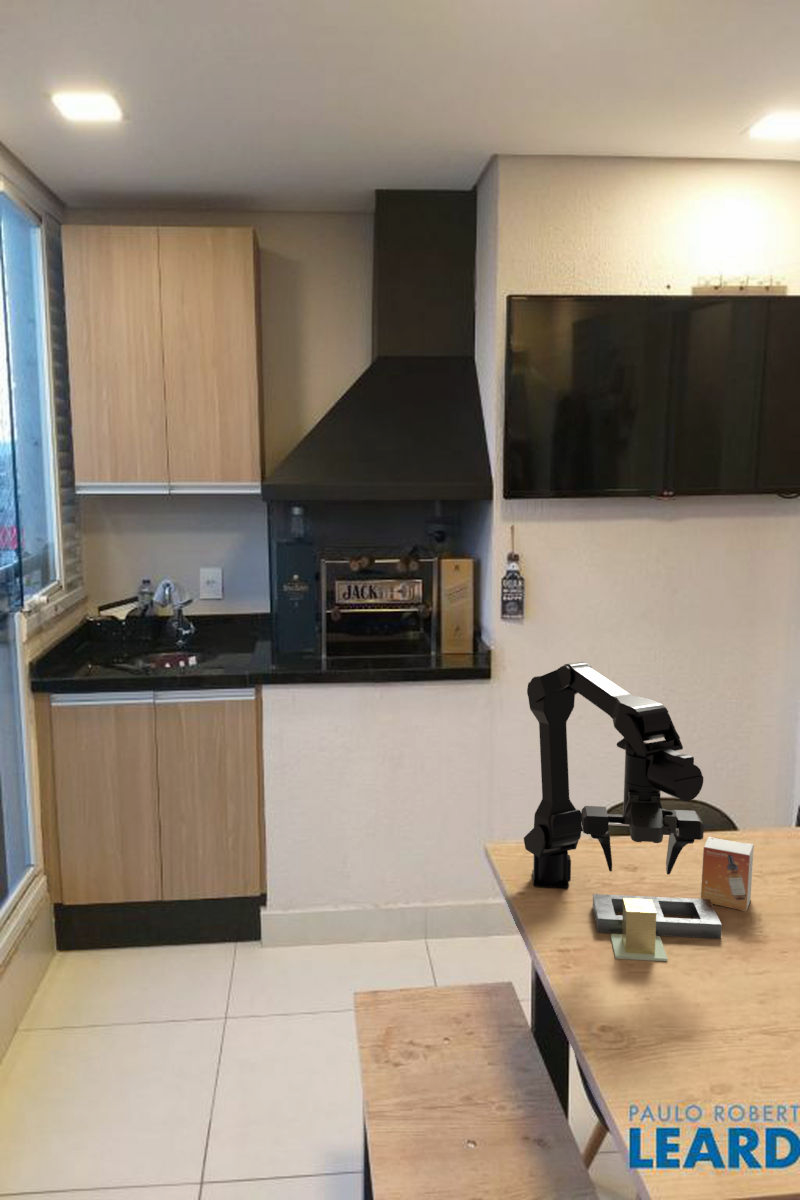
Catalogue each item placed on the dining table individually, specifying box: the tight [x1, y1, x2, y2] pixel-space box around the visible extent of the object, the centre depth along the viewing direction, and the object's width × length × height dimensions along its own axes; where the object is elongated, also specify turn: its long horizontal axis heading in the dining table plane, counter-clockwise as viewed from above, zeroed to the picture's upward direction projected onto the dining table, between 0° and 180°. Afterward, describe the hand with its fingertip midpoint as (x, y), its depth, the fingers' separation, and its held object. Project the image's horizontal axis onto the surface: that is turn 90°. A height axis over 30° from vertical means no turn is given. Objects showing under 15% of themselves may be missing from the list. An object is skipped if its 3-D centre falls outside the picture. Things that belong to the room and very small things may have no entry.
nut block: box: [621, 898, 656, 954], centre depth 146 cm, size 5×5×7 cm
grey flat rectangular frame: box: [592, 893, 723, 940], centre depth 155 cm, size 20×9×2 cm, turn 83°
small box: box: [700, 836, 755, 912], centre depth 162 cm, size 8×6×10 cm
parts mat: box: [610, 933, 668, 962], centre depth 146 cm, size 8×7×1 cm
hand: (639, 872), depth 148 cm, fingers open, 9 cm apart
